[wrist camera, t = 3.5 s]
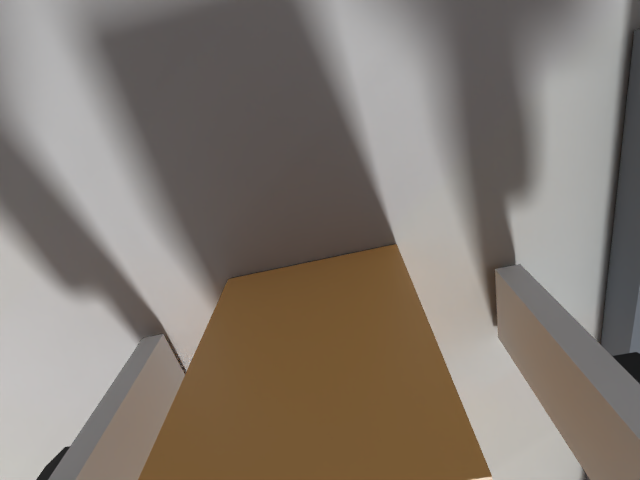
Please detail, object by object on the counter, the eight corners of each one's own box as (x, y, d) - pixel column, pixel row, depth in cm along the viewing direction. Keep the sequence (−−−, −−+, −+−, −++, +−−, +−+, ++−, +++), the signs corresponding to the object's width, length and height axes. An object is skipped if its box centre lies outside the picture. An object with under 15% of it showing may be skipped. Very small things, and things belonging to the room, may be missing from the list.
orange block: (228, 279, 12) (116, 527, 5) (396, 243, 11) (491, 476, 5) (276, 397, 14) (236, 672, 8) (418, 373, 13) (503, 649, 7)
